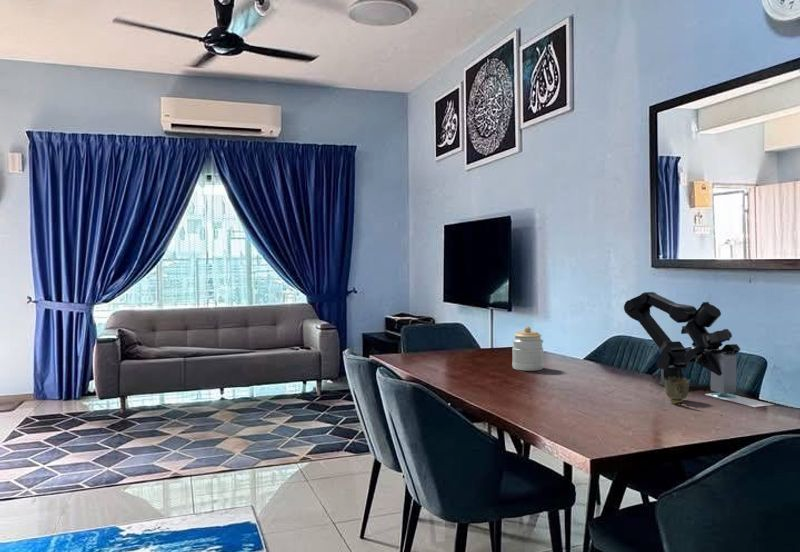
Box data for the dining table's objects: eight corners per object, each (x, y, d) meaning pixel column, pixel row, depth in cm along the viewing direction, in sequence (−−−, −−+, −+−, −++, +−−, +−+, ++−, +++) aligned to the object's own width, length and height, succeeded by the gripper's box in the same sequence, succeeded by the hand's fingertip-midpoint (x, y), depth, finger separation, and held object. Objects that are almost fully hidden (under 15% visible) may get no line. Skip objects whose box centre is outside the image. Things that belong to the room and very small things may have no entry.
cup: (678, 407, 188) (678, 381, 188) (658, 402, 195) (658, 377, 195) (695, 404, 192) (695, 379, 192) (674, 400, 198) (674, 375, 198)
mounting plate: (704, 397, 202) (704, 394, 202) (723, 395, 205) (723, 392, 205) (754, 410, 184) (754, 406, 184) (774, 407, 187) (774, 404, 187)
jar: (546, 371, 253) (546, 328, 253) (515, 371, 253) (514, 328, 253) (539, 365, 266) (539, 325, 266) (509, 366, 266) (509, 325, 266)
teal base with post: (706, 397, 202) (706, 383, 202) (723, 395, 204) (723, 382, 204) (724, 402, 195) (724, 387, 195) (741, 400, 197) (741, 386, 197)
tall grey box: (710, 390, 201) (710, 353, 201) (723, 389, 203) (723, 352, 203) (723, 393, 196) (723, 356, 196) (736, 392, 198) (736, 355, 198)
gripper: (691, 322, 200) (718, 361, 190) (735, 319, 206) (764, 357, 196) (673, 343, 207) (698, 381, 197) (716, 340, 213) (743, 377, 203)
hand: (726, 374), depth 198 cm, fingers closed on tall grey box, 5 cm apart
